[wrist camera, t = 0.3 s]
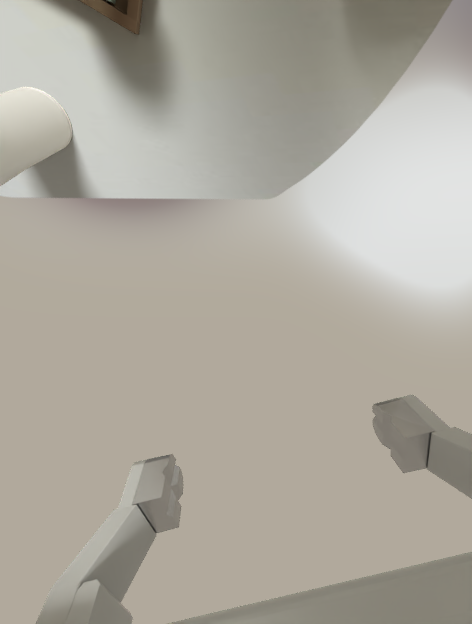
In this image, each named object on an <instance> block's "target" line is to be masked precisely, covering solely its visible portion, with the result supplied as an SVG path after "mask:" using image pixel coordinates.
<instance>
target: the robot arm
mask: <svg viewBox="0 0 472 624" xmlns="http://www.w3.org/2000/svg"><path fill="white" fill-rule="evenodd" d="M373 413H374V414H375V415H376V416H375V417H374V419H373V427H374V430H375V433H376V435H377V437H378V439H379V440H380V442H381V443H382V444H383V445H384V446H386V447H388V448H389V449H391V457H392V458H393V460H394V461H395V462H396V464H397V465H398V467H399V468H400V469H401V471H402V472H403V473H406V472H411V471H415V470H420V469H425V468H427V469H428V470H429V471H430V472H432V473H433V474H435V475H437V476H438V477H439V478H441V479H442V480H444V481H446V482H447V483H449V484H450V485H452V486H453V487H455V488H456V489H458V490H459V491H461V492H463V493H464V494H465V495H467V496H469V497H470V498H472V434H470V433H468V432H465V431H463V430H461V429H458V428H456V427H453V428H450V427H449V426H448V425H447V424H446V423H445V422H444V421H442V420H441V419H440V418H439V417H438V416H437V415H436V414H435V413H434V412H433V411H431V410H430V409H429V408H428V407H427V406H426V405H425V404H424V403H423V402H422V401H420V400H419V399H418V398H417V397H416V396H414V395H409V396H405V397H401V398H396V399H392V400H388V401H384V402H380V403H377V404H374V405H373ZM175 461H176V459H175V457H174V456H173V455H172V454H171V455H166V456H161V457H157V458H152V459H147V460H144V461H139V462H135V463H134V464H133V465H132V467H131V469H130V473H129V476H128V479H127V482H126V485H125V488H124V491H123V494H122V497H121V500H120V504H119V507H118V509H115V510H114V511H113V512H112V513H111V514H110V515H109V517H108V518H107V519H106V520H105V522H104V523H103V524H102V525H101V527H100V528H99V529H98V530H97V532H96V533H95V534H94V535H93V537H92V538H91V539H90V541H89V542H88V543H87V544H86V546H85V547H84V548H83V549H82V550H81V552H80V553H79V554H78V555H77V557H76V558H75V559H74V560H73V562H72V563H71V564H70V565H69V567H68V568H67V569H66V570H65V572H64V573H63V574H62V575H61V577H60V578H59V579H58V580H57V582H56V583H55V584H54V586H53V587H52V588H51V589H50V592H49V594H48V596H47V599H46V601H45V603H44V606H43V608H42V610H41V613H40V615H39V617H38V620H37V622H36V624H131V623H132V616H131V613H130V612H129V611H128V610H127V609H126V608H125V607H124V606H123V605H122V604H121V601H122V599H123V597H124V595H125V593H126V592H127V590H128V588H129V586H130V584H131V582H132V580H133V578H134V576H135V575H136V573H137V571H138V569H139V567H140V565H141V563H142V561H143V560H144V558H145V556H146V554H147V552H148V550H149V548H150V546H151V544H152V543H153V541H154V539H155V537H156V533H159V532H163V531H167V530H170V529H174V528H178V527H179V521H180V512H181V505H180V503H179V502H178V500H179V498H180V497H181V495H182V494H183V476H182V472H181V469H180V467H178V466H176V465H175ZM168 624H472V552H470V553H465V554H461V555H457V556H453V557H448V558H444V559H440V560H435V561H431V562H427V563H423V564H419V565H414V566H410V567H406V568H401V569H397V570H393V571H389V572H384V573H381V574H376V575H372V576H368V577H364V578H359V579H355V580H350V581H346V582H342V583H338V584H334V585H329V586H325V587H321V588H317V589H312V590H308V591H304V592H300V593H296V594H291V595H287V596H283V597H279V598H274V599H270V600H266V601H261V602H257V603H253V604H249V605H245V606H240V607H236V608H232V609H227V610H223V611H219V612H215V613H210V614H206V615H202V616H198V617H194V618H189V619H185V620H181V621H177V622H172V623H168Z"/></svg>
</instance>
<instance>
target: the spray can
mask: <svg viewBox="0 0 472 624" xmlns="http://www.w3.org/2000/svg"><path fill="white" fill-rule="evenodd" d="M71 138H72V126H71V122H70V119H69V117H68V115H67V113H66V112H65V110H64V109H63V107H62V106H61V105H60V104H59V103H58V102H57V101H56V100H55V99H54V98H53V97H52V96H50V95H49V94H47V93H46V92H44V91H42V90H39V89H37V88H33V87H20V88H18V89H14V90H10V91H6V92H2V93H0V186H1V185H3V184H5V183H6V182H8V181H9V180H11V179H12V178H14V177H15V176H17V175H18V174H20V173H21V172H23V171H24V170H26V169H27V168H29V167H31V166H33V165H35V164H36V163H38V162H40V161H42V160H44V159H45V158H47V157H49V156H51V155H53V154H54V153H56V152H58V151H59V150H62V149H63V148H65V147H66V146H67V145H68V144H69V143H70V141H71Z"/></svg>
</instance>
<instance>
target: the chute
mask: <svg viewBox="0 0 472 624" xmlns="http://www.w3.org/2000/svg"><path fill="white" fill-rule="evenodd" d="M79 1H81V2H82V3H84V4H86V5H88V6H89V7H91V8H93V9H94V10H96V11H98V12H99V13H101V14H103V15H104V16H106V17H108V18H109V19H111V20H113V21H114V22H116V23H118V24H119V25H121V26H123V27H124V28H126V29H128V30H129V31H131V32H133V33H134V34H138V35H139V29H140V21H141V12H142V4H143V0H116V3H115V4H114V3H112V2H110V1H108V0H79Z"/></svg>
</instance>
